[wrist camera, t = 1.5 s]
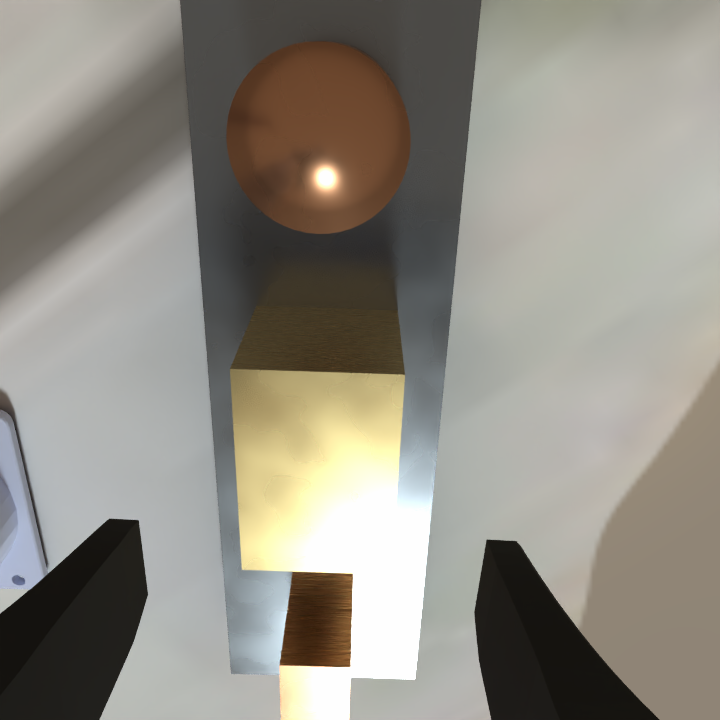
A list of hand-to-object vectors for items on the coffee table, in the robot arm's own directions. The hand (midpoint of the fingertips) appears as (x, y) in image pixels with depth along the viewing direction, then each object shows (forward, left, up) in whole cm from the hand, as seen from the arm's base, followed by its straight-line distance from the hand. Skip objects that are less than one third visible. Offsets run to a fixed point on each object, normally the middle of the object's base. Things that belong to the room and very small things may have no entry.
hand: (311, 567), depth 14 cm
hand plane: (0, 0, -10) cm, 10 cm away
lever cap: (0, 0, -7) cm, 7 cm away
